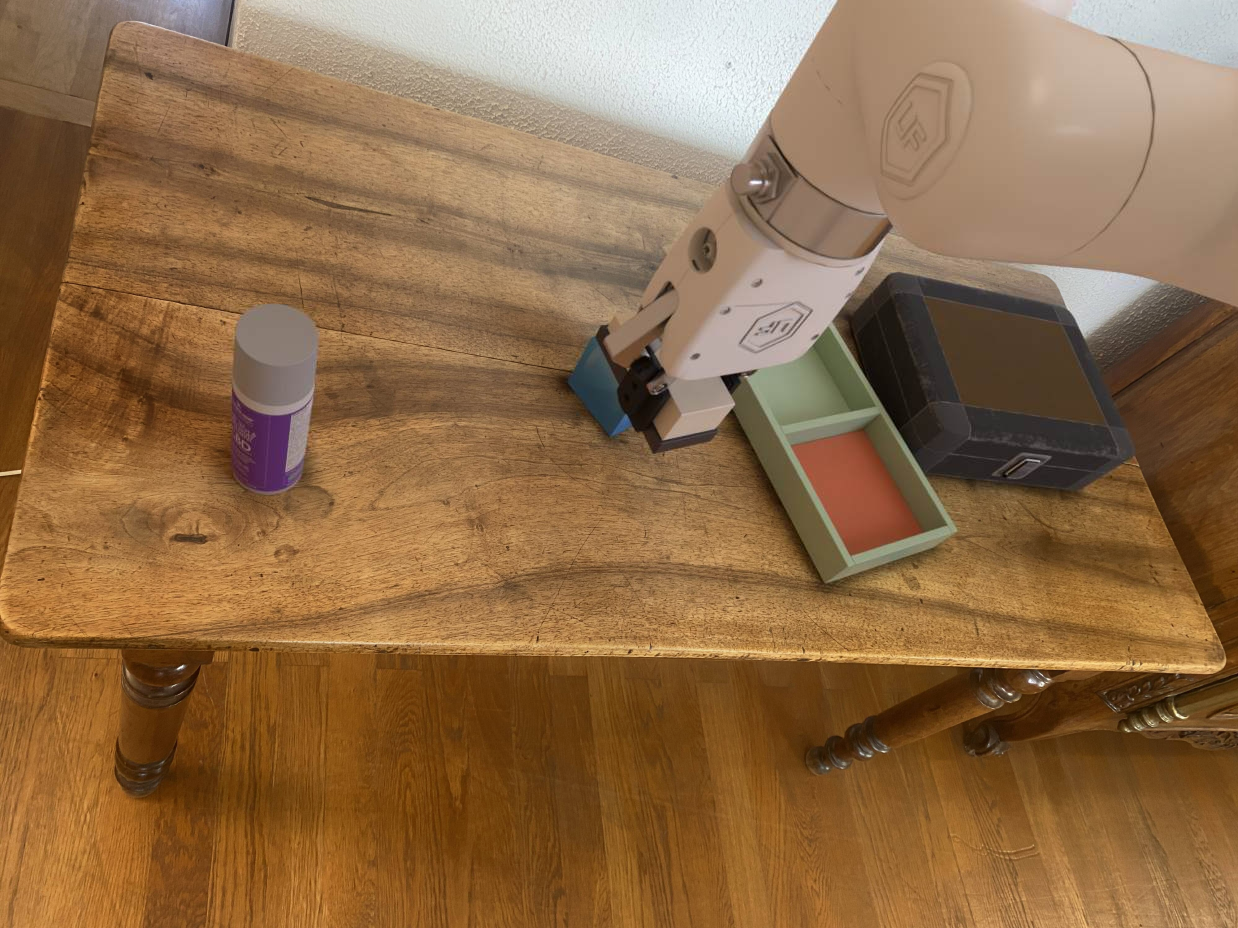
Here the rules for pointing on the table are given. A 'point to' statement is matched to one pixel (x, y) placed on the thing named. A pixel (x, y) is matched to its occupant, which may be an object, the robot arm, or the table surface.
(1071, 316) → the cash box
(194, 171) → the table surface
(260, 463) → the container
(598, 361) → the perfume bottle
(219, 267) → the table surface
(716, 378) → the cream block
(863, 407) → the tray
